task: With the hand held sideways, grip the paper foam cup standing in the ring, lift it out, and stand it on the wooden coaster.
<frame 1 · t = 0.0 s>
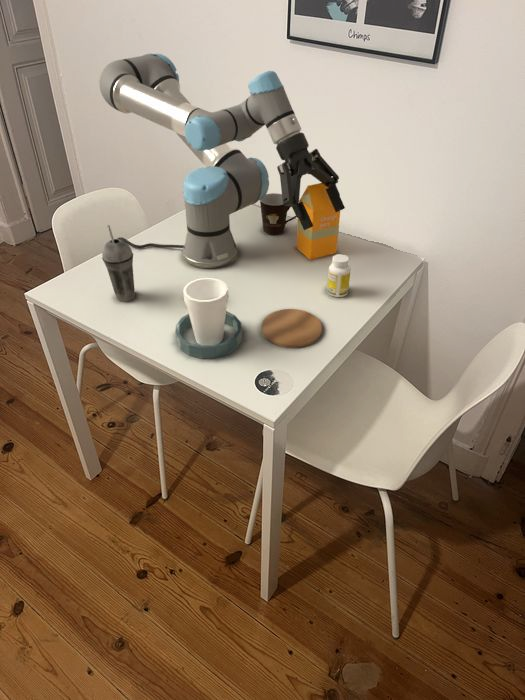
hand: (325, 219, 133), 15 cm above the table, tool tilted 35°, fingers open, 13 cm apart
supplement bottle: (337, 292, 135), on the table
beverage cup: (125, 297, 133), on the table
bread roll: (201, 299, 133), on the table
orange juice: (316, 251, 152), on the table
coffee mug: (278, 232, 161), on the table
ring: (209, 337, 120), on the table
foam cup: (209, 338, 120), on the table
wooden coaster: (291, 328, 123), on the table
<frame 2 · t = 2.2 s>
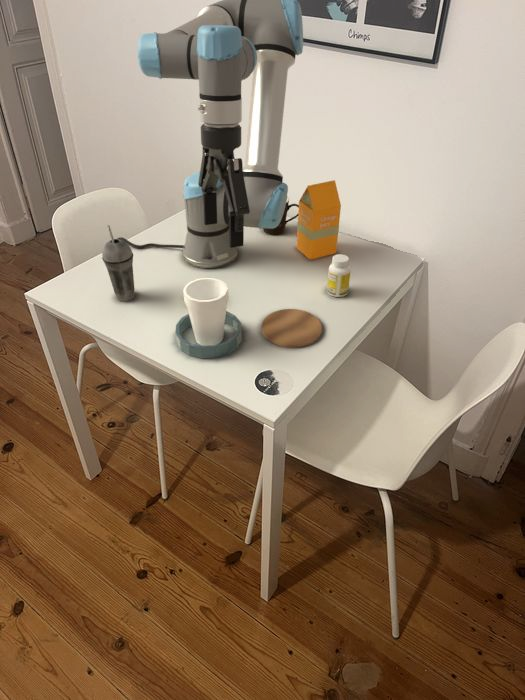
hand: (223, 234, 109), 24 cm above the table, tool pointing down, fingers open, 13 cm apart
nothing on the table moved.
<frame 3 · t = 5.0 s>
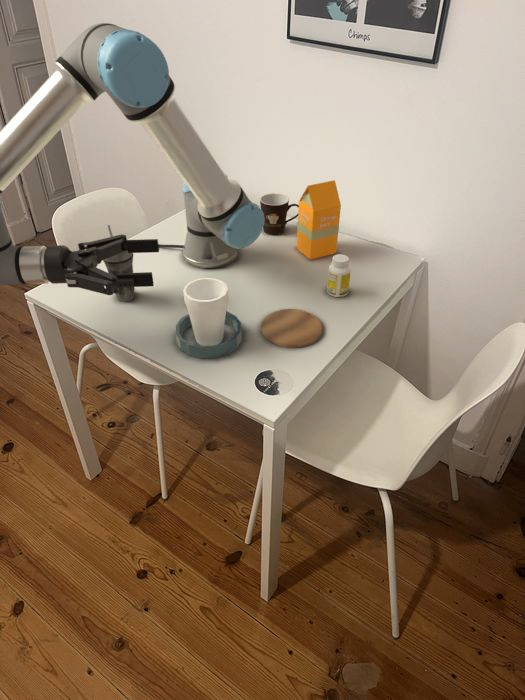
hand: (155, 261, 107), 20 cm above the table, tool horizontal, fingers open, 13 cm apart
nothing on the table moved.
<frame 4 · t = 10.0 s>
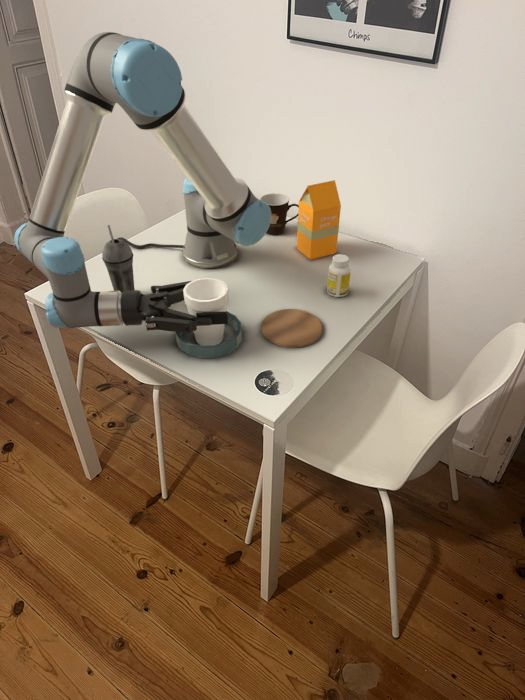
hand: (227, 304, 115), 9 cm above the table, tool horizontal, fingers closed on foam cup, 9 cm apart
foam cup: (209, 338, 120), on the table, touching gripper
everything else where it was.
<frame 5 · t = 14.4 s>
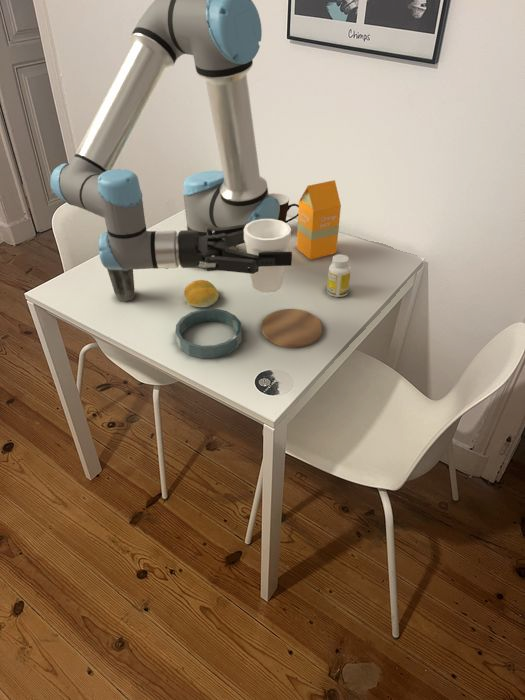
hand: (288, 246, 108), 22 cm above the table, tool horizontal, fingers closed on foam cup, 9 cm apart
foam cup: (266, 285, 114), point 13 cm above the table, touching gripper
everything else where it was.
when the fingers open (10 cm above the table, at t = 19.0 s): foam cup stays where it is, resting on wooden coaster.
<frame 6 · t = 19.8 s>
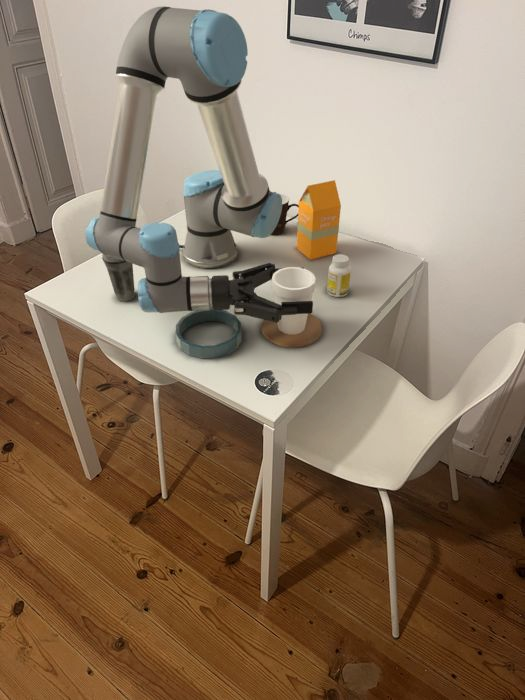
hand: (308, 289, 116), 11 cm above the table, tool horizontal, fingers open, 13 cm apart
foam cup: (291, 327, 122), point 1 cm above the table, touching wooden coaster
everything else where it was.
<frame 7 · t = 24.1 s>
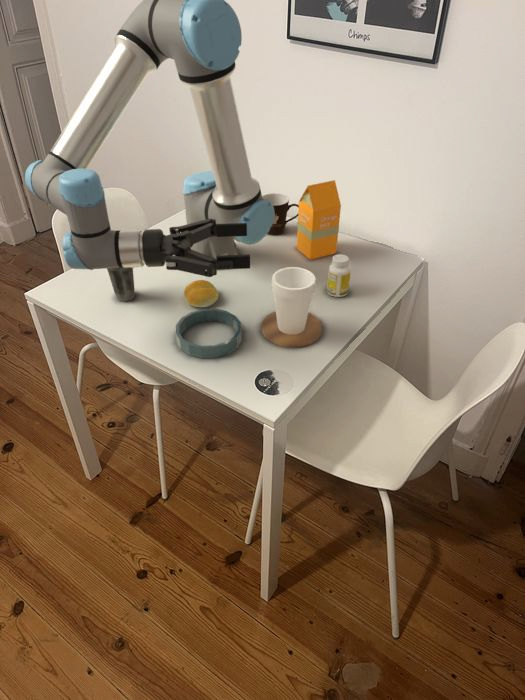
hand: (248, 244, 108), 22 cm above the table, tool horizontal, fingers open, 13 cm apart
nothing on the table moved.
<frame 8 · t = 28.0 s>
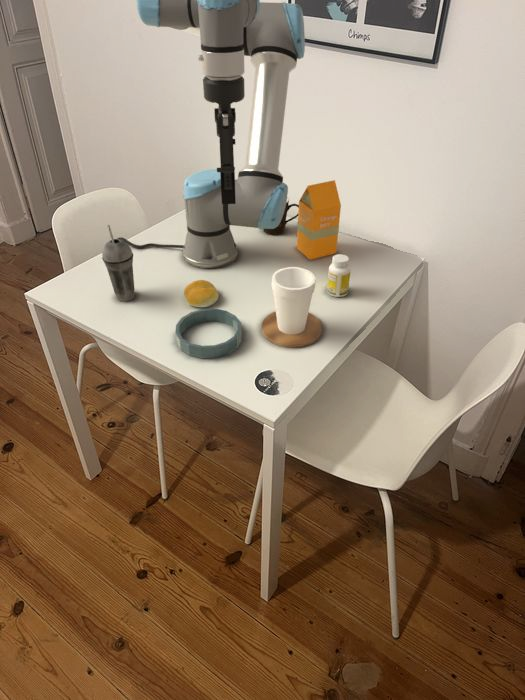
hand: (228, 189, 109), 31 cm above the table, tool pointing down, fingers open, 13 cm apart
nothing on the table moved.
at the end: foam cup 0.1 cm off-centre on the wooden coaster, point 0.6 cm above the wooden coaster's base; foam cup tilted 0°; the gripper is holding nothing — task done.
